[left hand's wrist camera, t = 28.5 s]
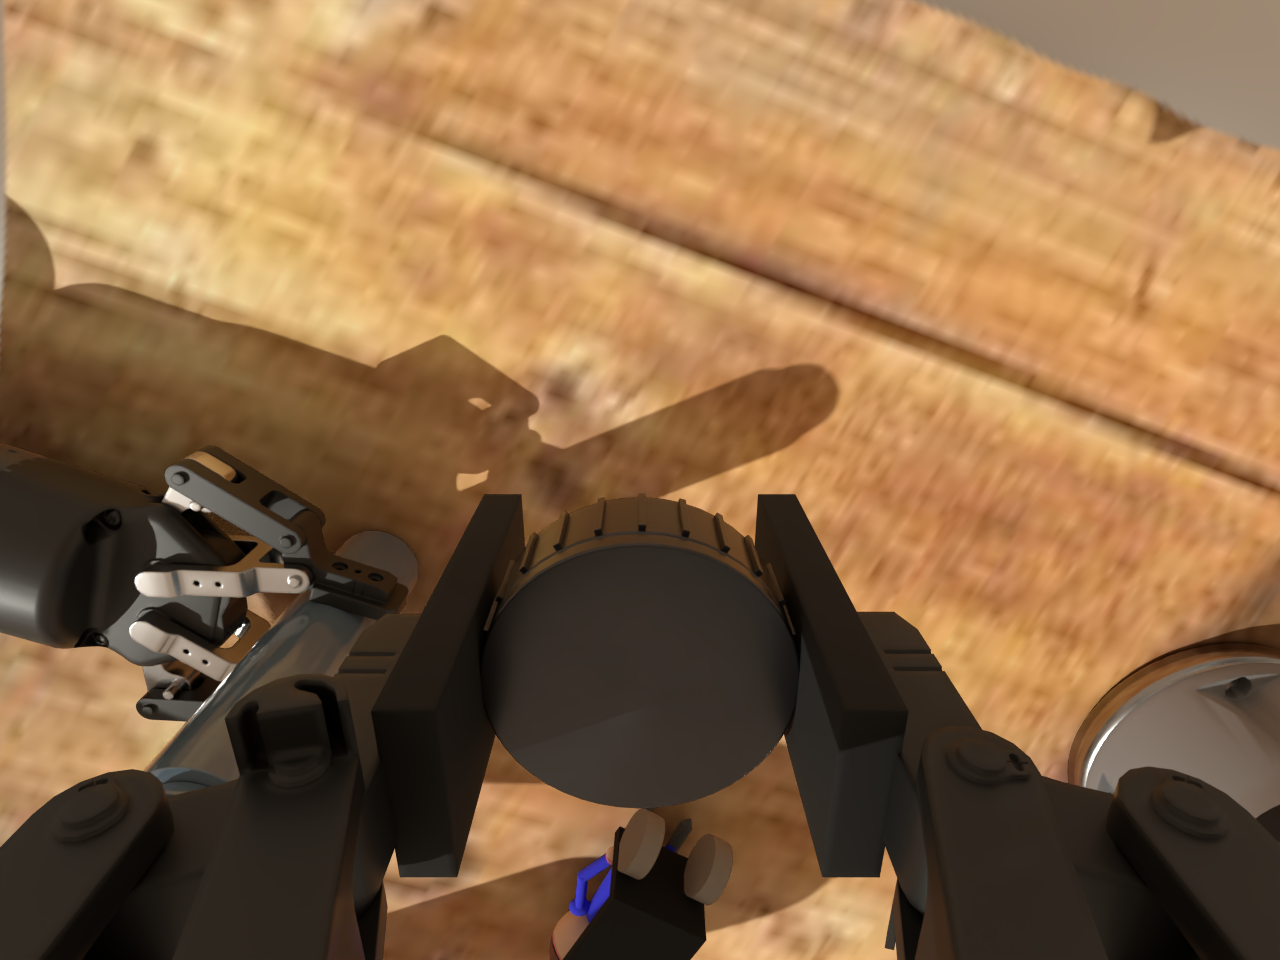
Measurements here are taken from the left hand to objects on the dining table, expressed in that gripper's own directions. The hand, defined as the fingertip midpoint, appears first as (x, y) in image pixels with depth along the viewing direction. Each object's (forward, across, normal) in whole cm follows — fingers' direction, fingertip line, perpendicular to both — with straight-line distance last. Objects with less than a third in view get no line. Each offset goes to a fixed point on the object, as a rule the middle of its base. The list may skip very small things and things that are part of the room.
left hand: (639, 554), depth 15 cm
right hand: (+14, +12, +13) cm, 22 cm away
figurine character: (+21, +1, +34) cm, 39 cm away
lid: (-4, 0, 0) cm, 4 cm away
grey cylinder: (+21, +14, +12) cm, 28 cm away
